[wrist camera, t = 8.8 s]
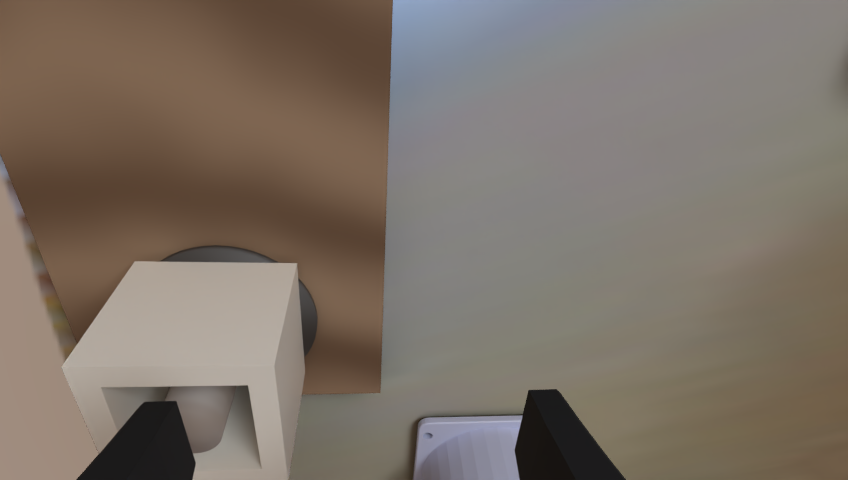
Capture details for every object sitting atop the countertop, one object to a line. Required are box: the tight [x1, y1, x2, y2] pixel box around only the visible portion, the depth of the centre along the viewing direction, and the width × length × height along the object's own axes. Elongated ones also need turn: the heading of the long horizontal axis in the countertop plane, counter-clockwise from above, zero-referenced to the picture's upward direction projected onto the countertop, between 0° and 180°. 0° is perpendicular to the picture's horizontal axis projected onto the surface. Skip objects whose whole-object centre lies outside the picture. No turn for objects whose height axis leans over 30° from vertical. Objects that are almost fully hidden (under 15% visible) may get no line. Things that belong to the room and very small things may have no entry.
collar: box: [61, 261, 305, 480], centre depth 18 cm, size 6×6×5 cm
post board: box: [0, 0, 393, 453], centre depth 16 cm, size 18×12×6 cm, turn 176°
